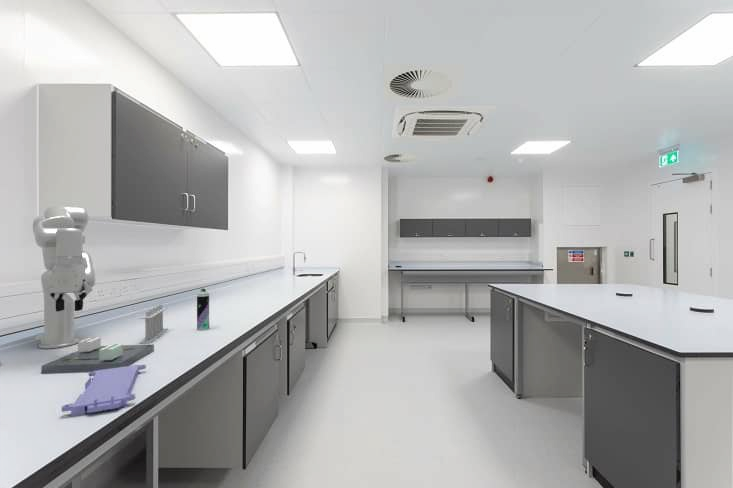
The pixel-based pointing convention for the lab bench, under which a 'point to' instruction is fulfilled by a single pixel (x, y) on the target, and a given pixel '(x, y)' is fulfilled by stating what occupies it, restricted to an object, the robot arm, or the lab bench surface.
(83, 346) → the block
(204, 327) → the spray can
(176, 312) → the lab bench surface
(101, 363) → the dark grey flat board
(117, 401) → the computer part
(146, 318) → the test tube rack
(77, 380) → the lab bench surface
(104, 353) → the fader green
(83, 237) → the robot arm
